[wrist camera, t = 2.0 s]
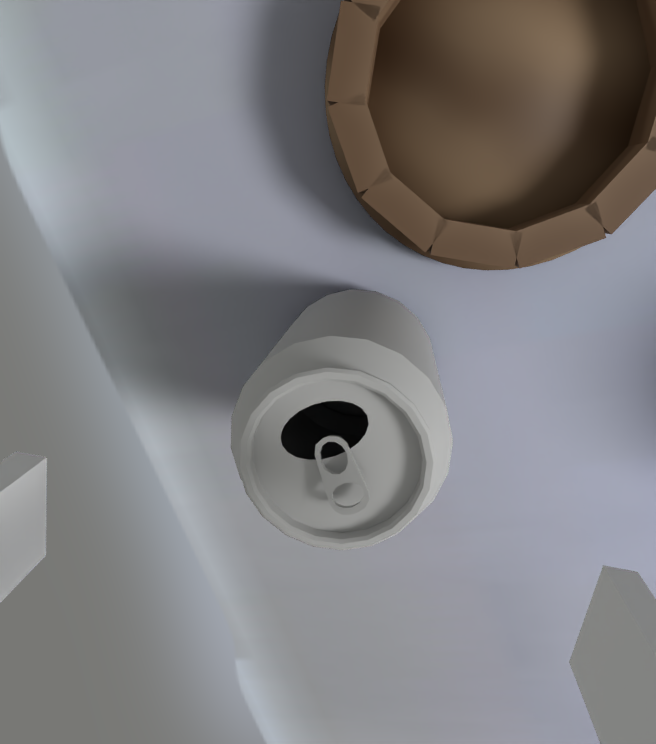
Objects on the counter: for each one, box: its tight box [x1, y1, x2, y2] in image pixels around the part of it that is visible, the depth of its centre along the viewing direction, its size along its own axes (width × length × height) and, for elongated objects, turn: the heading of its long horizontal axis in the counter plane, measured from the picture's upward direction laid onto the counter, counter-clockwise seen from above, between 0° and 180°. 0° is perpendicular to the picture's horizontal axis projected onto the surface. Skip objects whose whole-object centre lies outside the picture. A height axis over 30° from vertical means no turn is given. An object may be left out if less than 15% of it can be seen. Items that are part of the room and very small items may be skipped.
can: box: [231, 289, 453, 550], centre depth 23 cm, size 8×8×12 cm
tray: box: [325, 0, 656, 270], centre depth 23 cm, size 15×15×3 cm
